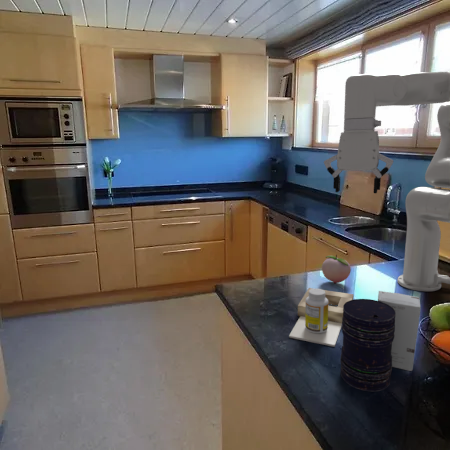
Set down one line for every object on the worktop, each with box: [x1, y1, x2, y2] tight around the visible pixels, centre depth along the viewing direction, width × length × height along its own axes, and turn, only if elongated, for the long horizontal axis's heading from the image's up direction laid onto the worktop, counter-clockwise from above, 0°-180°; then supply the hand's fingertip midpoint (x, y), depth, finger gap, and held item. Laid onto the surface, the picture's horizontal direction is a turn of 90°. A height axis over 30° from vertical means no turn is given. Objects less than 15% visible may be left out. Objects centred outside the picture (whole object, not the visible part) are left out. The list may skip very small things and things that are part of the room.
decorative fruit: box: [321, 254, 352, 284], centre depth 122 cm, size 9×8×10 cm
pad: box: [288, 316, 343, 348], centre depth 94 cm, size 11×11×1 cm
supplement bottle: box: [305, 288, 329, 333], centre depth 93 cm, size 6×6×10 cm
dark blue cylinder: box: [340, 298, 396, 392], centre depth 75 cm, size 10×10×15 cm
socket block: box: [297, 287, 355, 323], centre depth 105 cm, size 13×13×3 cm
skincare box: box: [377, 290, 421, 372], centre depth 80 cm, size 8×6×15 cm
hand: (356, 192), depth 100 cm, fingers open, 9 cm apart
